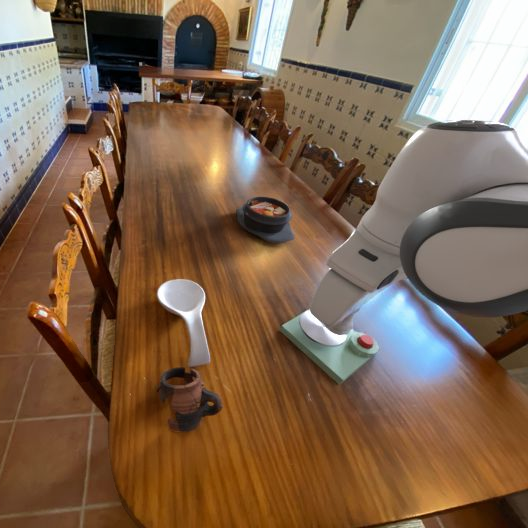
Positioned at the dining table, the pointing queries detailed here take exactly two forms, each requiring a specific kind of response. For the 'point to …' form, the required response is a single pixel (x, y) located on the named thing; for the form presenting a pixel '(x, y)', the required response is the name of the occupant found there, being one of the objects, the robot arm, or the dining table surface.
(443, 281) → the robot arm
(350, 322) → the rook chess piece
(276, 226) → the casserole
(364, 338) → the tare button
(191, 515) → the dining table surface
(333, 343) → the pan
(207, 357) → the spoon rest
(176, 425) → the pottery mug
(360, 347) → the scale
